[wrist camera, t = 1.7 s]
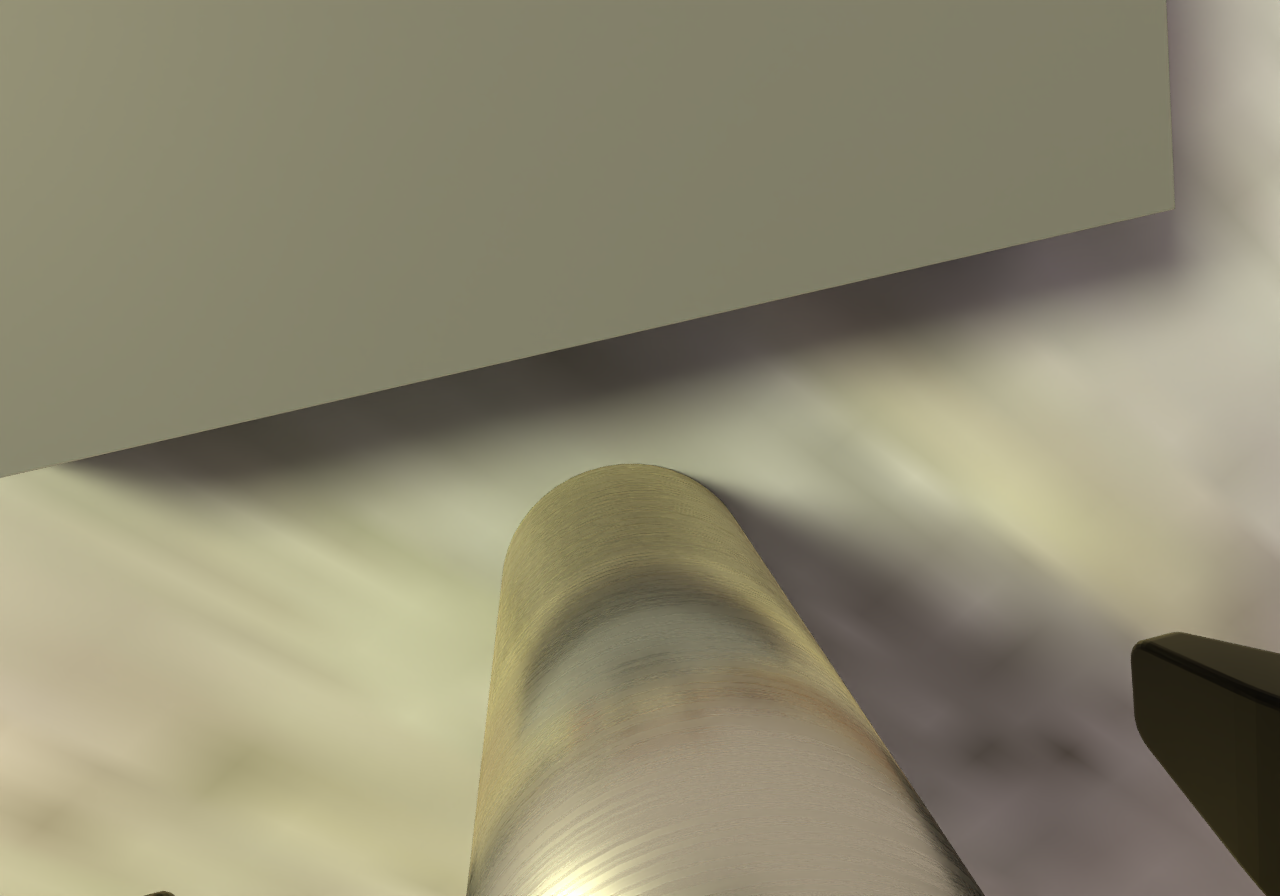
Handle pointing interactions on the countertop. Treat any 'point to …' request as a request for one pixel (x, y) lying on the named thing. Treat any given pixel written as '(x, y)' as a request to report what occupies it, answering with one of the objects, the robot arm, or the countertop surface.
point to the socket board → (509, 180)
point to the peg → (678, 719)
